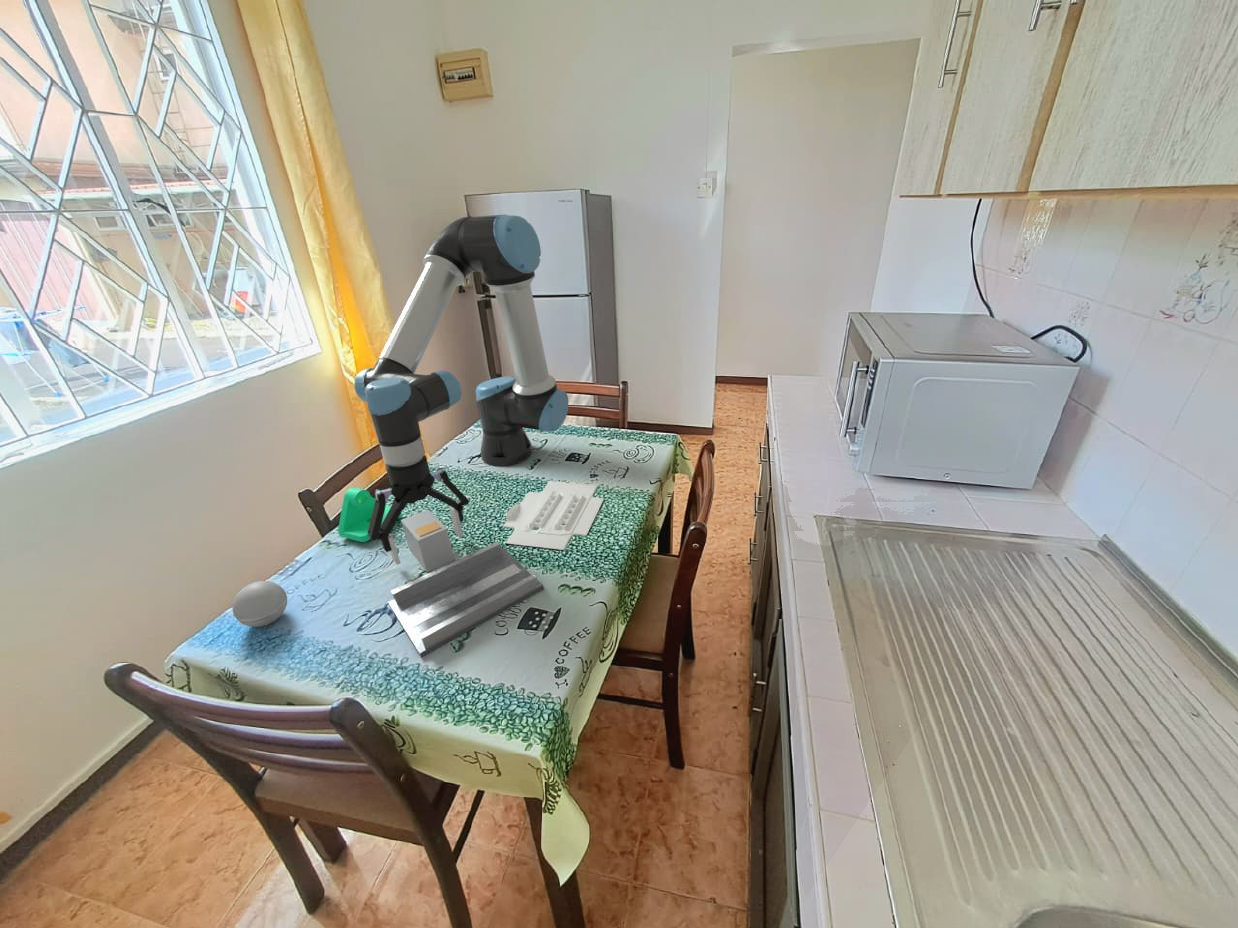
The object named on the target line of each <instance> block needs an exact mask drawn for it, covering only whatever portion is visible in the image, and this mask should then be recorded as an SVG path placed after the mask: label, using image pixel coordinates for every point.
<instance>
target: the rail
mask: <svg viewBox="0 0 1238 928" xmlns="http://www.w3.org/2000/svg"><path fill="white" fill-rule="evenodd" d="M537 578H538V577H537V576H536V575H535V574H533V573H531V572H530V571H528V569H526V568H525V567H524V566H523V565H522V564H521V563H520V562H519V561H518V560H517V559H516V558H514V557H513V556H512V555H511V554H510V553H509V552H508V551H507V550H506V549H505V548H504V547H502V546H501V542H499V541H495V542H494V543H491V544H489V545H487V546H484V547H483V548H480V549H478V550H477V551H474V552H472V553H470V554H467V555H465V556H464V557H461V558H458V559H457V560H453V562H450V563H447V564H446V565H444V566H440V567H438V568H436V569H434V570H433V571H430V572H429V573H428V572H427V574H424V575H421V576H420V577H418V578H416V579H414V580H411V581H410V582H408V583H404V584H403V585H401V586H399V587H396V588H394V589H392V590H390V591H391V595H392V597H393V599H392V600H390V601H388V605H389V607H390V608H391V611H392V612H393V614H394V616H395V617H396V619H397V620H398V622H399V624H400V626H401V627H402V629H403V630H404V632H405V633H406V636H407V637H408V638H409V641H410V642H411V644H412V645H413V647H414V649H415V650H416V652H417V653H418V655H419V657H420V658H423V657H425V656H427V655H428V654H430V653H432V652H434V651H436V650H437V649H438V650H439V648H441V647H443V646H445V645H446V644H448V643H450V642H451V641H453V640H455V639H457V638H459V637H461V636H463V635H464V634H466V633H468V632H470V631H471V630H474V629H475V628H477V627H479V626H481V625H482V624H484V623H486V622H488V621H490V620H492V619H493V618H495V617H497V616H499V615H500V614H502V613H504V612H506V611H507V610H509V609H511V608H513V607H515V606H517V605H519V604H520V603H522V602H524V601H525V600H527V599H529V598H530V597H533V596H534V595H536V594H538V593H540V592H541V591H543V590H544V589H545V588H544V584H543V583H542V582H540V581H539V579H537Z"/></svg>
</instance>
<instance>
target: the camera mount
mask: <svg viewBox="0 0 1238 928" xmlns="http://www.w3.org/2000/svg"><path fill="white" fill-rule="evenodd" d="M374 504H375V497H373V496H372V495H371V493H370V492H369V490H367V489H362V488H358V487H350V488H348V489H347V490H346V491H345V493H344V496H343V500H342V507H341V512H340V518H339V523H338V528H337V532H338V535H339V537H341V538H345V539H347V540H348V539H349V540H353V541H357V542H360V543H365V542H368V541H370V540H371V538H370V537H369V535H368V529H369V525H370V521H371V517H372V513H373V509H374ZM391 506H392V505H387V504H386V507H385V511H384V515H383V519H382V523H383V521H384V519H385V517H386V515H387V513H388V512H389V510H390V508H391ZM402 516H403V513H402V512H401V514H400V515H399V517H398V519H401V517H402ZM382 523H381V525H382Z"/></svg>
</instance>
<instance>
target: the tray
mask: <svg viewBox="0 0 1238 928" xmlns="http://www.w3.org/2000/svg"><path fill="white" fill-rule="evenodd" d="M598 486H599V485H598V484H588V483H578V482H576V483H575V482H574V483H573V482H565V481H551V480H550V481H548V483H547V484H546V486H545V487H544V488H543V490H542V491H540V492H533V491H528V492H527V494H526V495H525V496H524V497H523V499H522V500H521V501H520V503H519V502H518V503H514V504H513V505H512V506H511V507H510V508H509V510H507V512H506V520H505V522H504V524H503V525H502V527H503V528H506V529H507V528H508V529H514V530H513V532H512V533H511V534H510V536H509V537H508V538H507V540H506V541H505V545H506V544H511V545H517V546H518V545H519V546H525V547H526V546H527V547H536V548H544V549H554V550H561V551H565V550H566V548H567V546H568V544H569V542H570V541H571V538H572V537H573V536H583V537H587V535H588V533H589V530H590V529H591V527H592V524H593V523H594V521H595V518H596V517H597V514H598V512H599V510H600V508H601V506H602V504H603V502H604V500H605V498H602V497H594V495H595V493H596V490H597V489H598ZM534 528H536V529H534ZM537 528H538V529H537Z"/></svg>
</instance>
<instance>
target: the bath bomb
mask: <svg viewBox="0 0 1238 928" xmlns="http://www.w3.org/2000/svg"><path fill="white" fill-rule="evenodd" d="M287 605H288V596H287V593H286V591H285V589H284V587H282V586H281V585H280V584H278V583H276V582H274V581H269V580H260V581H259V580H258V581H254V582H250V583H249V584H248V585H245V586H244V587H243V588H241V590H240V591H238V592H237V594H236V595H235V597H234V598H233V603H232V614H233V616H234V617H235V619H236V621H238V622H240V623H241V624H242V625H245V626H246V627H253V628H257V627H265V626H267V625H270V624H272V623H274V622H276V621H277V620H278V619H279V618H280V617H281V616H282V615H283V614H284V612H285V610H286V607H287Z"/></svg>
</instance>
